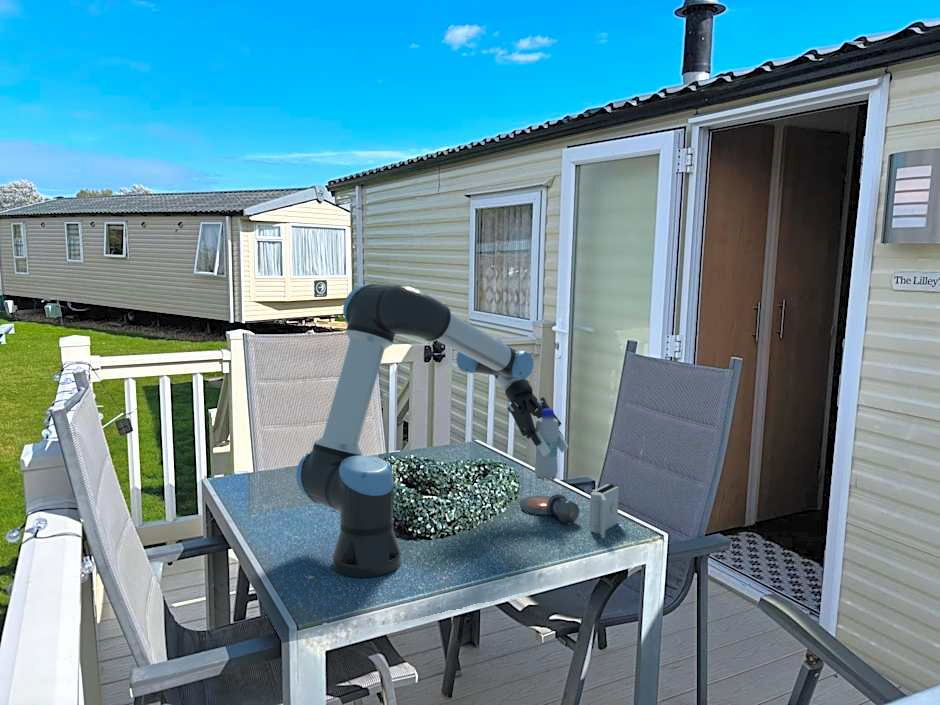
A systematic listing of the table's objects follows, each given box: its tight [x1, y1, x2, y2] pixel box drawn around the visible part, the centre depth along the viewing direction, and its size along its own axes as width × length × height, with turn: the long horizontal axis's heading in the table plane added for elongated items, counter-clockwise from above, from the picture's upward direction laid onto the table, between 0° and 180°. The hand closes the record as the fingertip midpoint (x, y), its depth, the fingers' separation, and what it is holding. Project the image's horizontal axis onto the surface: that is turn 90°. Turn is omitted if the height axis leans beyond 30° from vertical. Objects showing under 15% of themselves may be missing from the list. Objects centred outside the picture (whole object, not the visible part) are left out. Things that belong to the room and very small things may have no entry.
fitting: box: [519, 493, 580, 525], centre depth 187 cm, size 21×14×6 cm
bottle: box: [534, 408, 560, 482], centre depth 189 cm, size 7×7×20 cm
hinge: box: [589, 483, 620, 539], centre depth 174 cm, size 14×5×10 cm, turn 153°
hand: (556, 451), depth 186 cm, fingers closed on bottle, 7 cm apart
